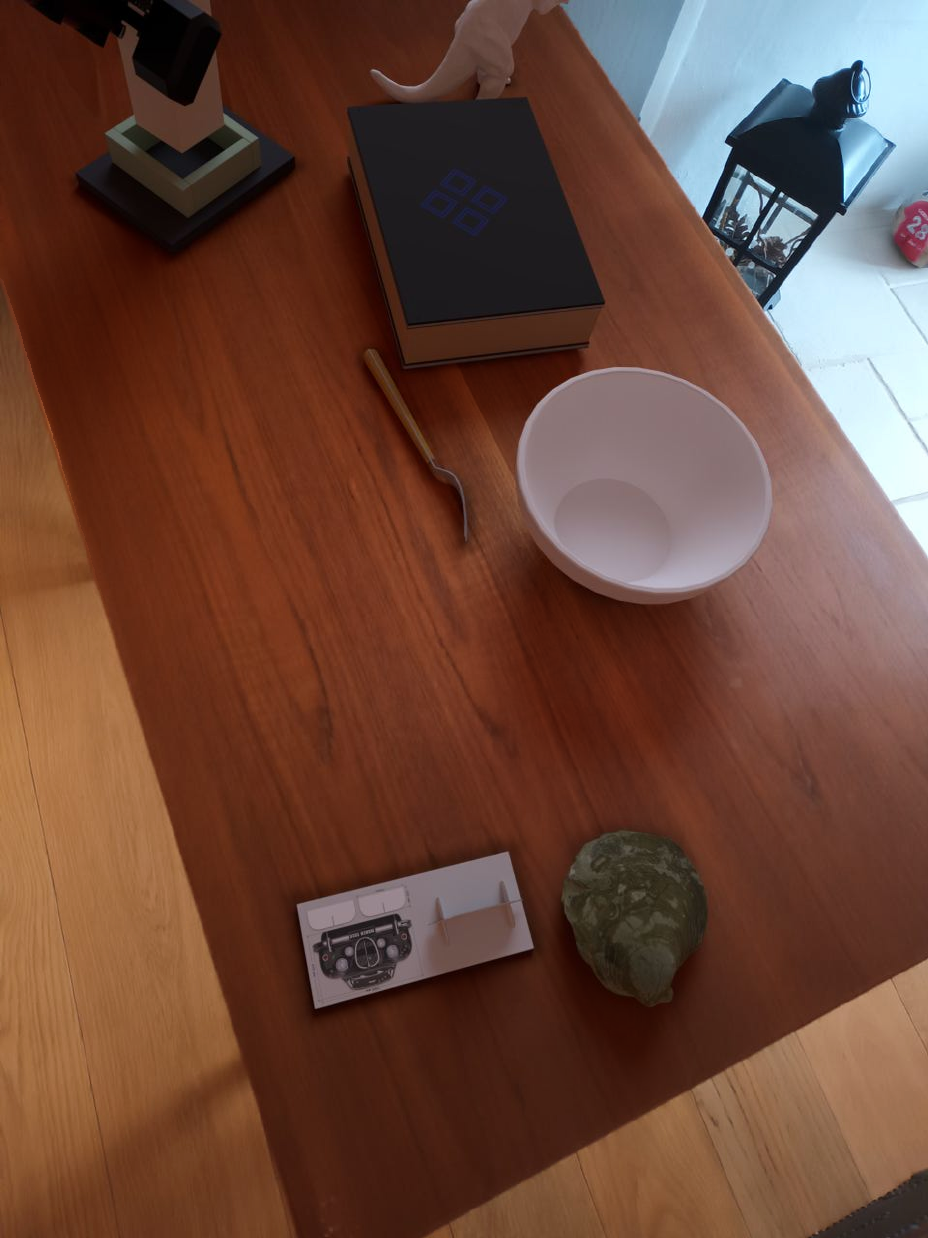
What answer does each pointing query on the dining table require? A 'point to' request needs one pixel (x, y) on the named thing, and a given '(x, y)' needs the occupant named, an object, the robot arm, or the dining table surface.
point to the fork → (408, 419)
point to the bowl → (641, 485)
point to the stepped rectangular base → (183, 178)
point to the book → (470, 231)
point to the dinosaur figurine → (475, 51)
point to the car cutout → (412, 928)
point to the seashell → (635, 912)
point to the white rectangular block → (164, 114)
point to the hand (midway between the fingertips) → (178, 42)
